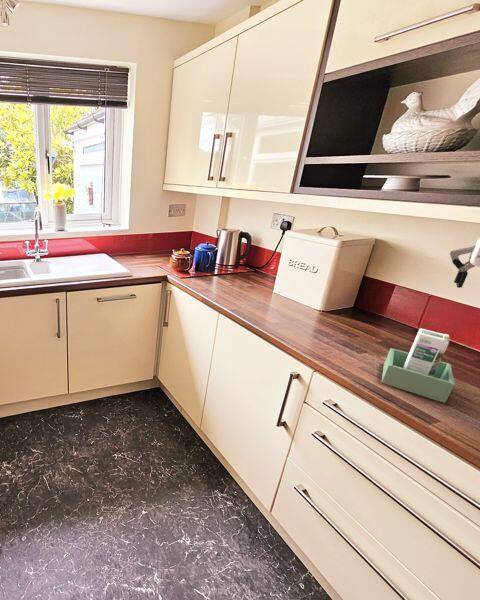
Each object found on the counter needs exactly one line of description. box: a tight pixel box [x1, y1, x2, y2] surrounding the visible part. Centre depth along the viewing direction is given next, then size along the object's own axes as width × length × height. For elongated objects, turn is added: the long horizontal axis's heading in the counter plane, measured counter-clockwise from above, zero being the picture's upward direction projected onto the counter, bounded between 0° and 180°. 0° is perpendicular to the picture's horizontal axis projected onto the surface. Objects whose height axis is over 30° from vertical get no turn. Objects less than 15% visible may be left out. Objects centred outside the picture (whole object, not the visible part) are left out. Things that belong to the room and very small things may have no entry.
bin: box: [381, 347, 455, 404], centre depth 93 cm, size 13×13×6 cm
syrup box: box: [403, 328, 450, 377], centre depth 91 cm, size 6×6×14 cm
